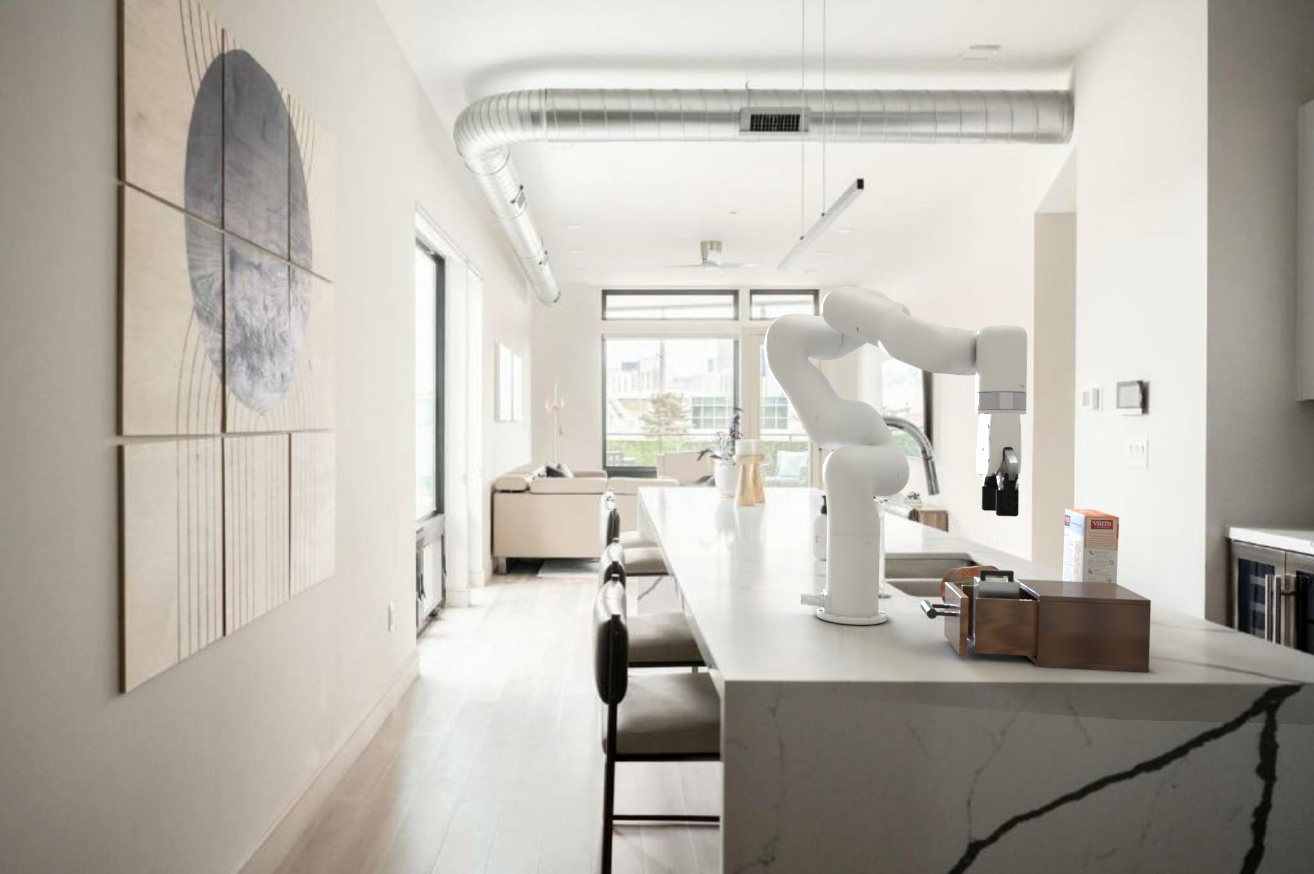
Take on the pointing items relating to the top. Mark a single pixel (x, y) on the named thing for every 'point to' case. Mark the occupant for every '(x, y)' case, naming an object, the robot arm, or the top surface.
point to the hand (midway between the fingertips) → (999, 513)
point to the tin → (964, 577)
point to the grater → (994, 587)
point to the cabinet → (1090, 625)
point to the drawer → (988, 622)
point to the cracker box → (1090, 546)
